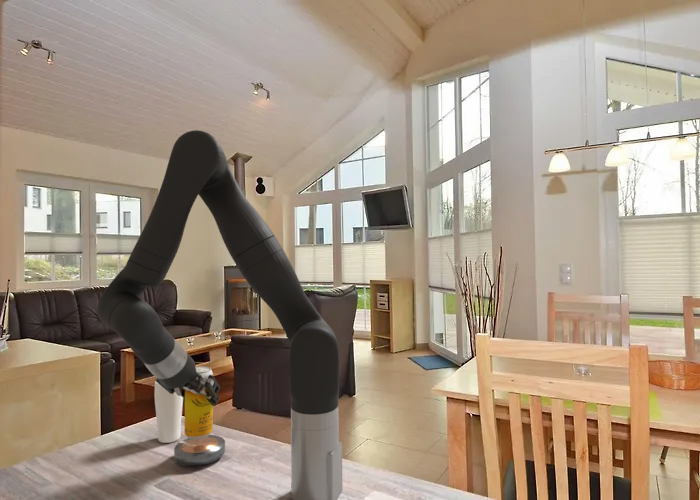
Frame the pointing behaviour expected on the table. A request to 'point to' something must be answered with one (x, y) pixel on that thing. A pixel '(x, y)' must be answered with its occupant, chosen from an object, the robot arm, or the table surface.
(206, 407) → the beer can
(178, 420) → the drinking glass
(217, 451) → the disc
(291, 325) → the robot arm
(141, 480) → the table surface
